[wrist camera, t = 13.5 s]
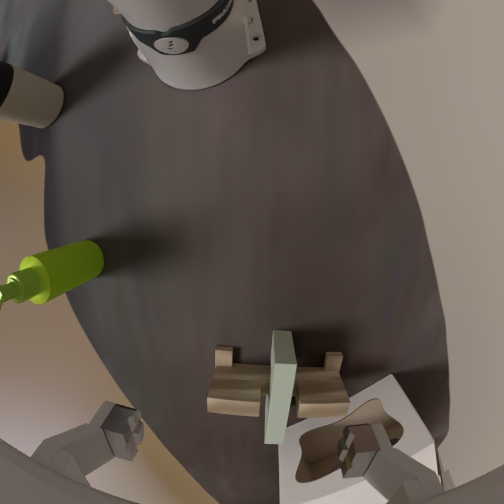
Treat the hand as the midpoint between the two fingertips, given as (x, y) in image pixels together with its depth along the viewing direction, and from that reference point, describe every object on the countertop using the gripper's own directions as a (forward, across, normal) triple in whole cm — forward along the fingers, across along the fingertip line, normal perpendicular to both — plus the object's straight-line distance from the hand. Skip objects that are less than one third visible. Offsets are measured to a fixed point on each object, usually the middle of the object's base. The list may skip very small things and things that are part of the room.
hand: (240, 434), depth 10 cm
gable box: (+28, -18, +29) cm, 45 cm away
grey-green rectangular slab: (+29, -4, +17) cm, 34 cm away
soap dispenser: (+30, +26, +2) cm, 39 cm away
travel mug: (+31, +37, -23) cm, 53 cm away
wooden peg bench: (+29, -4, +17) cm, 34 cm away
